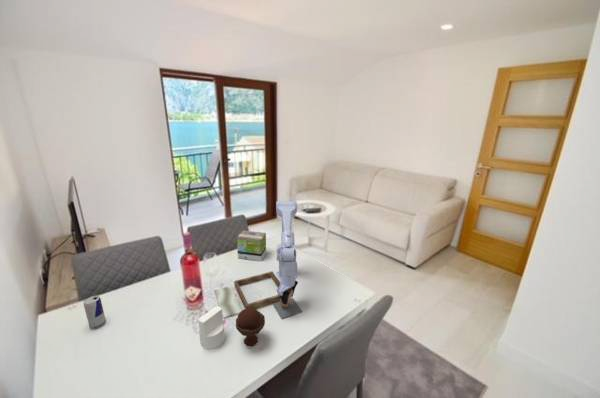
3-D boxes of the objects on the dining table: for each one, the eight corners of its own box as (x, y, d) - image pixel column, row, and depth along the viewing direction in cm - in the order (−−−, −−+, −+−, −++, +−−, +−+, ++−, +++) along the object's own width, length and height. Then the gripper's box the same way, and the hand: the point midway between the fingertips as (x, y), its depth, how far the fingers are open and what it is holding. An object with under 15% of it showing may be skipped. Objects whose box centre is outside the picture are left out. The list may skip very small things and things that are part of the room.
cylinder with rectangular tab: (211, 353, 95) (208, 326, 92) (195, 342, 100) (192, 316, 96) (229, 336, 103) (228, 311, 99) (214, 327, 107) (211, 302, 104)
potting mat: (292, 298, 125) (292, 297, 125) (302, 312, 117) (302, 311, 116) (272, 304, 120) (272, 303, 120) (281, 319, 112) (281, 318, 112)
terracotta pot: (282, 297, 121) (284, 284, 119) (292, 302, 119) (295, 289, 117) (276, 304, 117) (279, 291, 114) (287, 309, 115) (289, 296, 113)
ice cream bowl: (270, 335, 104) (270, 303, 99) (254, 357, 94) (253, 323, 90) (248, 326, 108) (247, 295, 104) (230, 346, 98) (228, 313, 94)
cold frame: (272, 276, 142) (272, 271, 141) (288, 298, 125) (288, 293, 124) (214, 291, 128) (214, 286, 128) (223, 319, 111) (223, 313, 110)
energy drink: (109, 321, 108) (103, 297, 105) (95, 331, 104) (89, 305, 100) (100, 318, 110) (93, 293, 106) (86, 327, 105) (79, 302, 102)
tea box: (237, 259, 158) (236, 236, 153) (243, 251, 167) (242, 229, 163) (261, 261, 156) (261, 239, 151) (266, 253, 165) (266, 231, 161)
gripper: (287, 262, 121) (287, 288, 125) (271, 279, 108) (271, 306, 112) (301, 266, 118) (300, 292, 122) (286, 284, 106) (286, 312, 110)
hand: (287, 299), depth 117 cm, fingers closed on terracotta pot, 5 cm apart
